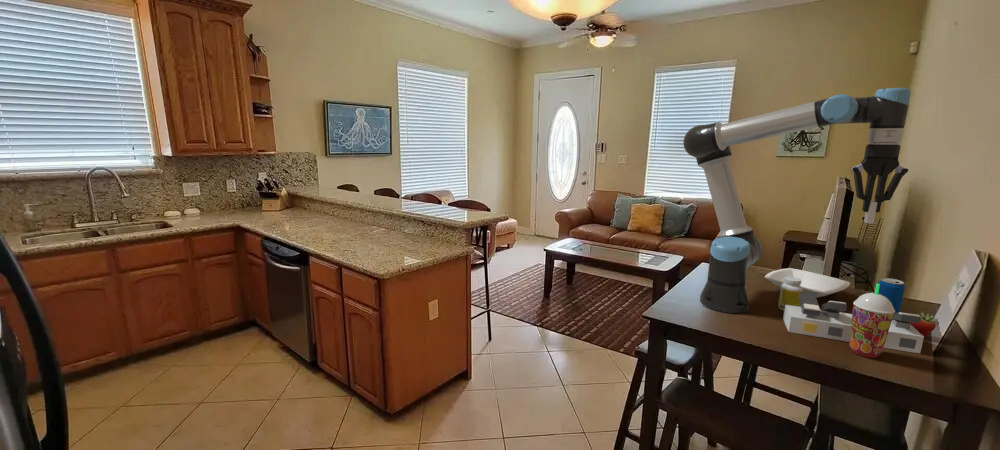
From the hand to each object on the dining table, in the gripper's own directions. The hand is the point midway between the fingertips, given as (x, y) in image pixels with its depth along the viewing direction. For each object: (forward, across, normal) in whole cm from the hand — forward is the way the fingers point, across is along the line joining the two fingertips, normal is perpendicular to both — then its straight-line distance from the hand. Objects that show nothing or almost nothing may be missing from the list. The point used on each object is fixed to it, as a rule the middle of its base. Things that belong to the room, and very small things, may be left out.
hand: (868, 222), depth 126 cm
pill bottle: (+33, -16, +3) cm, 36 cm away
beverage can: (+33, +12, +11) cm, 36 cm away
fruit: (+33, +15, -5) cm, 36 cm away
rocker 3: (+24, +8, -12) cm, 28 cm away
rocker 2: (+24, -8, -12) cm, 28 cm away
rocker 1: (+24, -14, -12) cm, 31 cm away
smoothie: (+33, -3, -23) cm, 40 cm away
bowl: (+33, -8, +23) cm, 41 cm away
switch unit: (+32, -4, -12) cm, 35 cm away
